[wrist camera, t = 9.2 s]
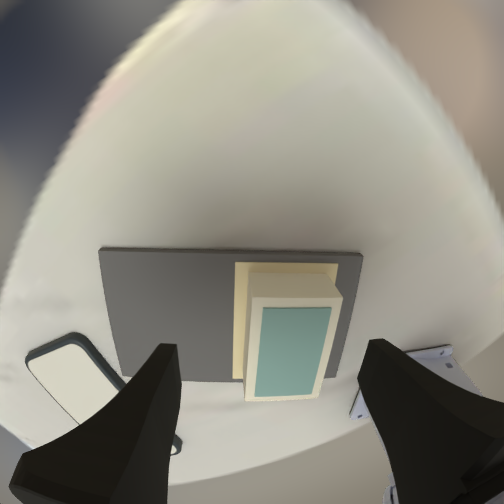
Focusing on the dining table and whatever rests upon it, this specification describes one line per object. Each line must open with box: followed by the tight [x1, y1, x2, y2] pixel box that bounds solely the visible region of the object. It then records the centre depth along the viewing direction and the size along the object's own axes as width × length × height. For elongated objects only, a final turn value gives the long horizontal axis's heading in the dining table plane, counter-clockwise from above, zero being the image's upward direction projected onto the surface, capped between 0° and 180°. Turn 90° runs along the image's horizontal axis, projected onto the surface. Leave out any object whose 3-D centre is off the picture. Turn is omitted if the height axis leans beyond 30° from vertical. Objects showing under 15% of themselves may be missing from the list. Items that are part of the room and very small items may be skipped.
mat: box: [98, 248, 363, 382], centre depth 20 cm, size 17×10×1 cm, turn 87°
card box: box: [242, 272, 343, 401], centre depth 19 cm, size 8×5×3 cm, turn 176°
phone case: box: [25, 332, 182, 456], centre depth 23 cm, size 9×2×16 cm
